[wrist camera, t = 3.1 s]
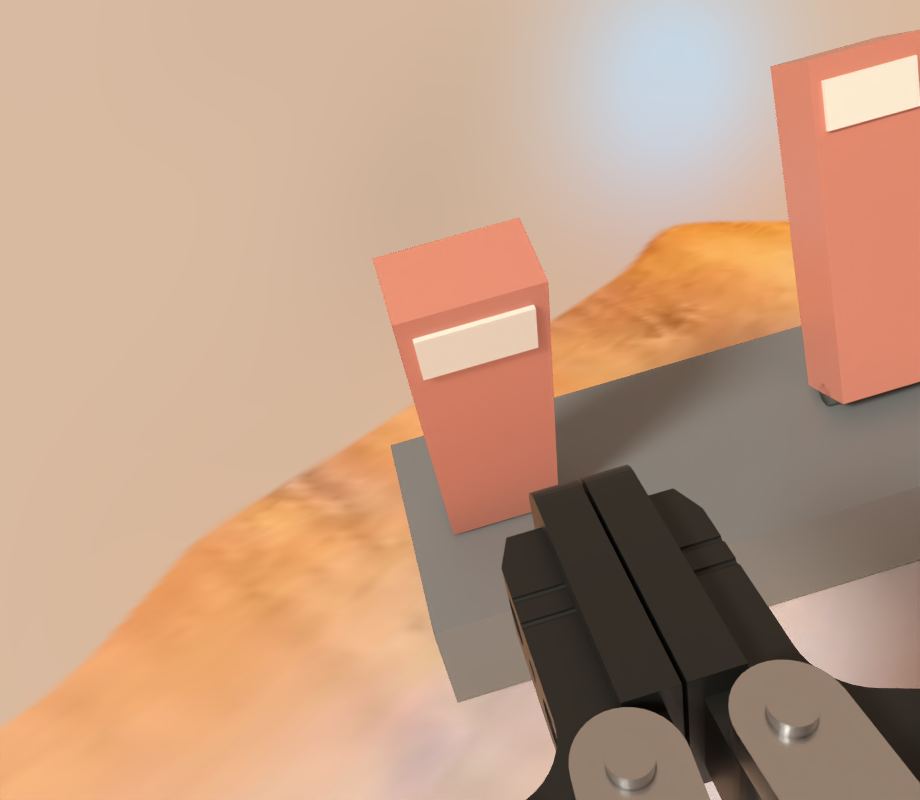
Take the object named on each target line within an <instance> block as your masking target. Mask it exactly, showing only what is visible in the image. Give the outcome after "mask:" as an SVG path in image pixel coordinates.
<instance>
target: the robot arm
mask: <svg viewBox="0 0 920 800" xmlns="http://www.w3.org/2000/svg"><path fill="white" fill-rule="evenodd" d="M529 501H530V506H531V511H532V517H533V522H534V527H535V529H534V530H531V531H527V532H524V533H520V534H517V535H514V536H510V537H507V538H506V542H505V549H504V555H503V561H502V567H501V569H502V573H503V577H504V582H505V586H506V590H507V594H508V599H509V603H510V607H511V611H512V616H513V620H514V624H515V628H516V633H517V636H518V639H519V642H520V645H521V648H522V651H523V654H524V657H525V660H526V663H527V665H528V668H529V672H530V675H531V678H532V681H533V684H534V687H535V689H536V692H537V696H538V699H539V702H540V705H541V708H542V711H543V714H544V717H545V720H546V723H547V726H548V729H549V732H550V734H551V737H552V740H553V743H554V746H555V749H556V754H555V758H554V762H553V765H552V767H551V770H550V772H549V774H548V775H547V777H546V779H545V780H544V782H543V783H542V785H541V786H540V787H539V788H538V789H537V790H536V792H534V793H533V794H532V795H531V796H530V797H529V798H528V799H526V800H710V798H709V795H708V793H707V790H706V788H705V785H704V783H707V782H711V781H713V782H714V785H715V787H716V789H717V791H718V793H719V795H720V797H721V799H722V800H920V689H901V688H868V687H862V686H856V685H852V684H849V683H846V682H842V681H840V680H837V679H835V678H833V677H832V676H831V675H829V674H827V673H826V672H824V671H823V670H821V669H819V668H817V667H814V666H813V665H812V664H810V663H809V662H808V661H807V660H806V659H805V658H804V657H803V656H802V655H801V654H800V653H799V652H798V650H797V649H796V648H795V646H794V645H793V643H792V642H791V640H790V639H789V637H788V636H787V634H786V633H785V631H784V630H783V628H782V627H781V625H780V624H779V622H778V621H777V619H776V618H775V616H774V615H773V613H772V612H771V610H770V609H769V607H768V606H767V604H766V603H765V601H764V600H763V598H762V597H761V595H760V594H759V592H758V591H757V589H756V588H755V586H754V585H753V583H752V582H751V580H750V579H749V577H748V576H747V574H746V573H745V571H744V570H743V568H742V567H741V565H740V564H738V563H737V561H736V557H735V556H734V554H733V553H732V551H731V550H730V548H729V547H728V545H727V544H726V542H725V541H722V538H721V535H720V533H719V532H718V530H717V529H716V527H715V526H714V524H713V523H712V521H711V520H710V518H709V517H708V515H707V514H706V512H705V511H704V509H703V508H702V507H700V506H699V505H697V504H696V503H694V502H693V501H691V500H690V499H689V498H687V497H686V496H684V495H683V494H681V493H680V492H678V491H677V490H675V489H674V488H672V489H669V490H665V491H662V492H659V493H655V494H652V495H648V494H647V493H646V491H645V489H644V487H643V486H642V484H641V482H640V481H639V479H638V477H637V476H636V474H635V472H634V471H633V469H632V468H631V467H630V466H629V465H627V464H626V465H622V466H619V467H615V468H612V469H609V470H605V471H602V472H598V473H595V474H592V475H588V476H585V477H581V478H579V481H578V480H577V479H575V480H572V481H568V482H565V483H562V484H558V485H555V486H551V487H548V488H544V489H541V490H538V491H534V492H531V493H529Z"/></svg>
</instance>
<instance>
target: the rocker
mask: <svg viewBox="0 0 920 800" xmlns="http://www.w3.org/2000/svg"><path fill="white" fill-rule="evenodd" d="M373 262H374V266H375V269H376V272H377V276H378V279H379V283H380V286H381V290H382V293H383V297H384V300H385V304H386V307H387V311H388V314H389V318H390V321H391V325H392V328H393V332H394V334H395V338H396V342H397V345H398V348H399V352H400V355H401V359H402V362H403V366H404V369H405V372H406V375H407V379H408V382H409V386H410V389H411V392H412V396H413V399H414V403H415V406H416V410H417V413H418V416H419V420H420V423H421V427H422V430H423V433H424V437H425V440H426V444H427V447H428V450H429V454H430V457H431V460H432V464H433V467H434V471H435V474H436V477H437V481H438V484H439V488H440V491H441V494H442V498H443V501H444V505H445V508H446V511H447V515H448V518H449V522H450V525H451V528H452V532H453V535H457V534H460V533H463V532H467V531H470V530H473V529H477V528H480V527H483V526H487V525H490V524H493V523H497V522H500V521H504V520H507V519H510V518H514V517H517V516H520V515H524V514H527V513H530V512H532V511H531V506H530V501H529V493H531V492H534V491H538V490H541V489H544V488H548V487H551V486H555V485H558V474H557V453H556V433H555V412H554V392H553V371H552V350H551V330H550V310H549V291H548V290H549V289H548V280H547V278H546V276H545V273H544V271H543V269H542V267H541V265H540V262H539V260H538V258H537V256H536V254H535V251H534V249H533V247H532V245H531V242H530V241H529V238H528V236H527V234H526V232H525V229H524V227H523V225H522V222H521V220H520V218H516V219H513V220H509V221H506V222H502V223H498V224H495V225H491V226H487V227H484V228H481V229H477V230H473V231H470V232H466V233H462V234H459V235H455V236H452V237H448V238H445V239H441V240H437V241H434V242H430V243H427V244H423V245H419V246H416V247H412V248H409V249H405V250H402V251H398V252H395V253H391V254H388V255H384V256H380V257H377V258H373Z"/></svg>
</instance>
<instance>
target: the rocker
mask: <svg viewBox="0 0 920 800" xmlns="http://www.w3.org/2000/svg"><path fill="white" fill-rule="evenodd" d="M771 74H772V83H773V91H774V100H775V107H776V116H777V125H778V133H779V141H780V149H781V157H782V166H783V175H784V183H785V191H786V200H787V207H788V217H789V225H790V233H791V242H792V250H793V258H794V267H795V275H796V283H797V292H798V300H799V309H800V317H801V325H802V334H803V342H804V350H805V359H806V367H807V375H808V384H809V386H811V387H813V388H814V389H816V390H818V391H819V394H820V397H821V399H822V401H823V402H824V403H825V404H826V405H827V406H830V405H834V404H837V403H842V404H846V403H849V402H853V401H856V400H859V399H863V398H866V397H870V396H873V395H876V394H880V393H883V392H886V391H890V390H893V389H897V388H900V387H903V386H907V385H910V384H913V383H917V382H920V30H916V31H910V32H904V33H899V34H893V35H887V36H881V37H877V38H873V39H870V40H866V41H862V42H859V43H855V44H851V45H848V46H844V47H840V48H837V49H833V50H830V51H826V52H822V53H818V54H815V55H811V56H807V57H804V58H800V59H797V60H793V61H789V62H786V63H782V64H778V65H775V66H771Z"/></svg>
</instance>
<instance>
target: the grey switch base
mask: <svg viewBox="0 0 920 800" xmlns="http://www.w3.org/2000/svg"><path fill="white" fill-rule="evenodd" d="M554 412H555V433H556V453H557V474H558V484H562V483H565V482H568V481H572V480H575V479H577V480H578V481H579V478H581V477H585V476H588V475H592V474H595V473H598V472H602V471H605V470H609V469H612V468H615V467H619V466H622V465H626V464H627V465H629V466H630V467H631V468H632V469H633V471H634V472H635V474H636V476H637V477H638V479H639V481H640V482H641V484H642V486H643V487H644V489H645V491H646V493H647V494H648V495H652V494H655V493H659V492H662V491H665V490H669V489H672V488H674V489H675V490H677V491H678V492H680V493H681V494H683V495H684V496H686V497H687V498H689V499H690V500H691V501H693V502H694V503H696V504H697V505H699V506H700V507H702V508H703V509H704V511H705V512H706V514H707V515H708V517H709V518H710V520H711V521H712V523H713V524H714V526H715V527H716V529H717V530H718V532H719V533H720V535H721V538H722V541H725V542H726V544H727V545H728V547H729V548H730V550H731V551H732V553H733V554H734V556H735V557H736V561H737V563H738V564H740V565H741V567H742V568H743V570H744V571H745V573H746V574H747V576H748V577H749V579H750V580H751V582H752V583H753V585H754V586H755V588H756V589H757V591H758V592H759V594H760V595H761V597H762V598H763V600H764V601H765V603H766V604H767V606H768V607H769V606H772V605H775V604H778V603H782V602H785V601H788V600H791V599H794V598H798V597H801V596H804V595H807V594H811V593H814V592H817V591H820V590H824V589H827V588H830V587H833V586H837V585H840V584H843V583H846V582H850V581H853V580H856V579H859V578H863V577H866V576H869V575H872V574H875V573H879V572H882V571H885V570H888V569H892V568H895V567H898V566H901V565H905V564H908V563H911V562H914V561H918V560H920V382H917V383H913V384H910V385H907V386H903V387H900V388H897V389H893V390H890V391H886V392H883V393H880V394H876V395H873V396H870V397H866V398H863V399H859V400H856V401H853V402H849V403H846V404H842V403H837V404H834V405H830V406H827V405H826V404H825V403H824V402H823V401H822V399H821V397H820V394H819V391H818V390H816V389H814V388H813V387H811V386H809V384H808V375H807V367H806V359H805V350H804V342H803V334H802V326H799V327H796V328H792V329H789V330H785V331H782V332H779V333H775V334H772V335H768V336H765V337H761V338H758V339H754V340H751V341H748V342H744V343H741V344H737V345H734V346H730V347H727V348H724V349H720V350H717V351H713V352H710V353H706V354H703V355H700V356H696V357H693V358H689V359H686V360H682V361H679V362H676V363H672V364H669V365H665V366H662V367H658V368H655V369H652V370H648V371H645V372H641V373H638V374H634V375H631V376H628V377H624V378H621V379H617V380H614V381H610V382H607V383H603V384H600V385H597V386H593V387H590V388H586V389H583V390H579V391H576V392H573V393H569V394H566V395H562V396H559V397H555V398H554ZM391 449H392V454H393V458H394V462H395V467H396V471H397V475H398V480H399V484H400V489H401V493H402V497H403V502H404V506H405V510H406V515H407V519H408V523H409V528H410V532H411V537H412V541H413V545H414V550H415V554H416V558H417V563H418V567H419V571H420V576H421V580H422V585H423V589H424V593H425V598H426V602H427V606H428V611H429V615H430V619H431V624H432V628H433V632H434V636H435V639H436V642H437V645H438V647H439V650H440V653H441V656H442V659H443V662H444V664H445V667H446V670H447V673H448V676H449V679H450V682H451V684H452V687H453V690H454V693H455V696H456V699H457V702H461V701H464V700H467V699H470V698H474V697H477V696H480V695H483V694H487V693H490V692H493V691H496V690H500V689H503V688H506V687H509V686H513V685H516V684H519V683H522V682H525V681H529V680H532V678H531V675H530V672H529V668H528V665H527V663H526V660H525V657H524V654H523V651H522V648H521V645H520V642H519V639H518V636H517V633H516V628H515V624H514V620H513V616H512V611H511V607H510V603H509V599H508V594H507V590H506V586H505V582H504V577H503V573H502V569H501V567H502V561H503V555H504V549H505V542H506V538H507V537H510V536H514V535H517V534H520V533H524V532H527V531H531V530H534V529H535V527H534V522H533V517H532V512H530V513H527V514H524V515H520V516H517V517H514V518H510V519H507V520H504V521H500V522H497V523H493V524H490V525H487V526H483V527H480V528H477V529H473V530H470V531H467V532H463V533H460V534H457V535H453V532H452V528H451V525H450V522H449V518H448V515H447V511H446V508H445V505H444V501H443V498H442V494H441V491H440V488H439V484H438V481H437V477H436V474H435V471H434V467H433V464H432V460H431V457H430V454H429V450H428V447H427V444H426V440H425V437H424V436H422V437H418V438H415V439H411V440H408V441H404V442H401V443H398V444H394V445H391Z"/></svg>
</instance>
